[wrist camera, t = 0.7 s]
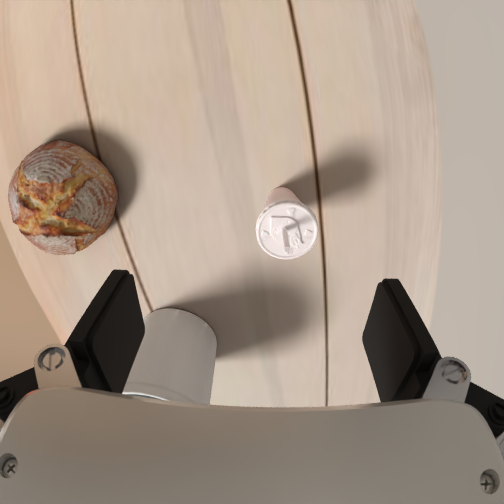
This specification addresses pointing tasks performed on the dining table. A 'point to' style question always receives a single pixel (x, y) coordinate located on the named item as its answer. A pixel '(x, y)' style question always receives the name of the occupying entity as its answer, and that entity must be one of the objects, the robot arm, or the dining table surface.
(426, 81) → the dining table surface
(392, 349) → the robot arm
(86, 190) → the bread
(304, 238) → the smoothie
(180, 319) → the utensil holder
